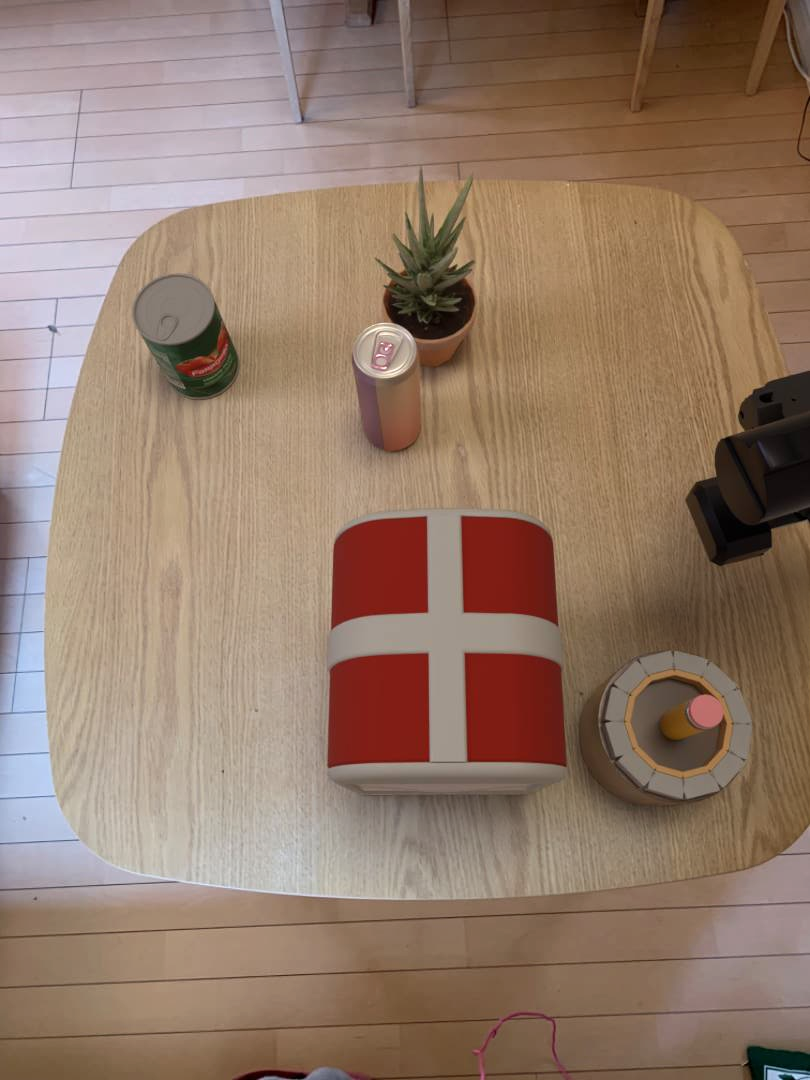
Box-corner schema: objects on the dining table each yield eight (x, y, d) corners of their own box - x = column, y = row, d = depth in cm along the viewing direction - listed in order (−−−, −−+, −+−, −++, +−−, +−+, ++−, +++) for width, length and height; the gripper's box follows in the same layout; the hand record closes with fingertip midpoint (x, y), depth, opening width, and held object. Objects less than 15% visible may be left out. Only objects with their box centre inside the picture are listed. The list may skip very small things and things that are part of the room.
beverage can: (356, 445, 87) (341, 370, 73) (373, 395, 89) (362, 313, 75) (411, 460, 86) (407, 387, 72) (428, 409, 88) (427, 329, 74)
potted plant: (477, 306, 92) (492, 129, 69) (470, 383, 89) (483, 226, 66) (386, 300, 93) (370, 122, 69) (376, 376, 90) (355, 217, 66)
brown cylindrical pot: (685, 657, 79) (718, 635, 70) (732, 787, 75) (772, 781, 66) (562, 688, 79) (578, 670, 70) (602, 821, 75) (625, 820, 66)
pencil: (684, 706, 68) (717, 690, 60) (694, 736, 68) (729, 723, 60) (655, 713, 68) (685, 698, 60) (665, 743, 67) (696, 731, 59)
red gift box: (526, 603, 81) (570, 499, 56) (536, 795, 76) (589, 777, 50) (354, 604, 82) (318, 502, 56) (350, 796, 76) (309, 778, 50)
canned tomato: (181, 328, 92) (149, 264, 82) (249, 344, 91) (226, 281, 81) (155, 391, 90) (119, 333, 80) (225, 407, 89) (197, 351, 79)
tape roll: (715, 641, 70) (721, 637, 69) (766, 777, 66) (773, 776, 65) (584, 673, 69) (588, 670, 68) (628, 813, 66) (633, 813, 64)
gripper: (945, 315, 59) (844, 417, 73) (687, 382, 58) (638, 472, 73) (1024, 457, 55) (902, 535, 70) (750, 531, 54) (685, 594, 69)
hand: (779, 530), depth 70 cm, fingers open, 9 cm apart
